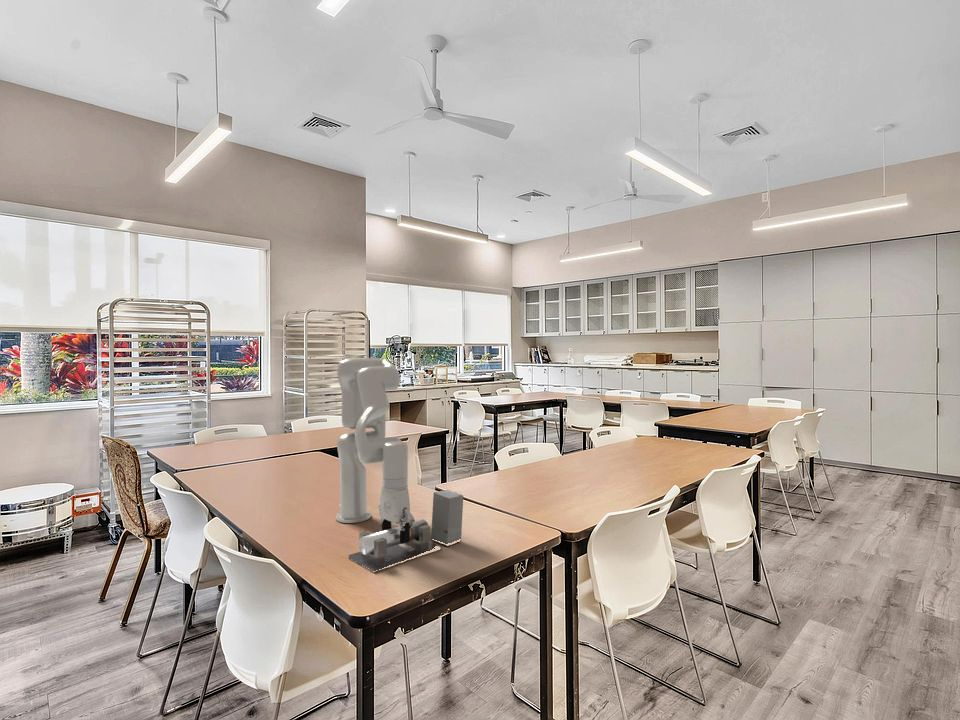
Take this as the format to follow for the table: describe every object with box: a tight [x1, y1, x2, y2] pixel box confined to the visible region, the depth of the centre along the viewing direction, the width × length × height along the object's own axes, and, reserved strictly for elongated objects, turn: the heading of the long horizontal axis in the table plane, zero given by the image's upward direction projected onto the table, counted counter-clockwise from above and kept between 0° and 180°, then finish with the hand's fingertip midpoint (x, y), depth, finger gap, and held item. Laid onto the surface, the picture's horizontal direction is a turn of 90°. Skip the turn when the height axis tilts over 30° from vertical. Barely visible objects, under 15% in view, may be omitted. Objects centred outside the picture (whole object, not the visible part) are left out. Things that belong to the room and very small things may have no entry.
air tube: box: [358, 519, 429, 555], centre depth 155 cm, size 22×5×5 cm, turn 134°
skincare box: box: [431, 489, 464, 544], centre depth 165 cm, size 8×7×16 cm
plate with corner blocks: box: [348, 519, 437, 571], centre depth 155 cm, size 14×24×8 cm, turn 134°
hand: (395, 538), depth 155 cm, fingers open, 9 cm apart
